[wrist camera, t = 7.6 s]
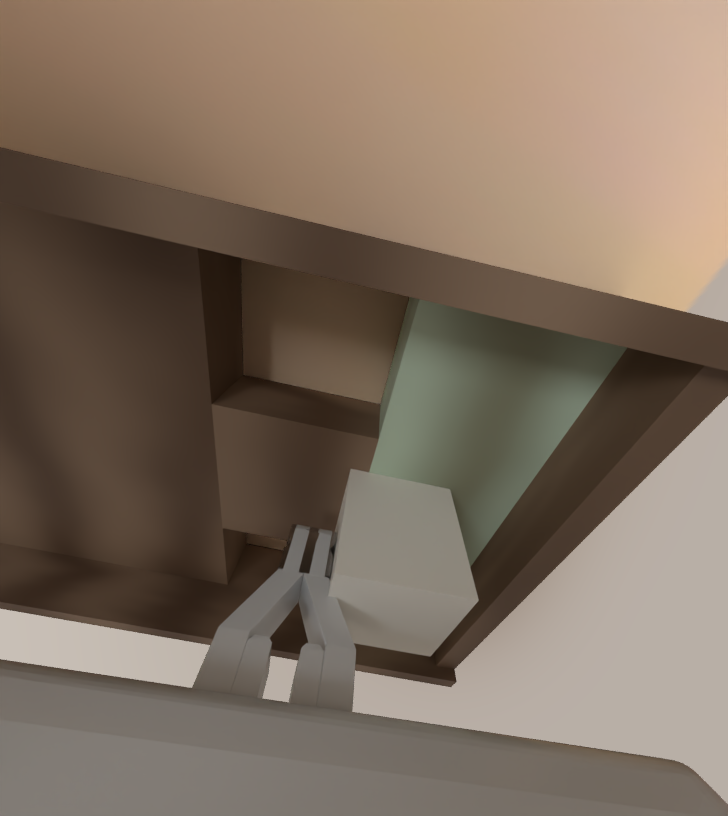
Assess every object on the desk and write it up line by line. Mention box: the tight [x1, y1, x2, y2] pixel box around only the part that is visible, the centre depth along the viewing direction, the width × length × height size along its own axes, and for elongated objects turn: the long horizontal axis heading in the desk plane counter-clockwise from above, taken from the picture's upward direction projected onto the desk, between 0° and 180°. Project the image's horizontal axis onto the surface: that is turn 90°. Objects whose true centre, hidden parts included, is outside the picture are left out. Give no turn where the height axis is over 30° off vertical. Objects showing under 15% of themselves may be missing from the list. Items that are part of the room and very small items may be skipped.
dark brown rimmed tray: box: [0, 148, 728, 687], centre depth 12 cm, size 30×19×5 cm, turn 78°
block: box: [328, 469, 479, 656], centre depth 10 cm, size 4×4×4 cm
